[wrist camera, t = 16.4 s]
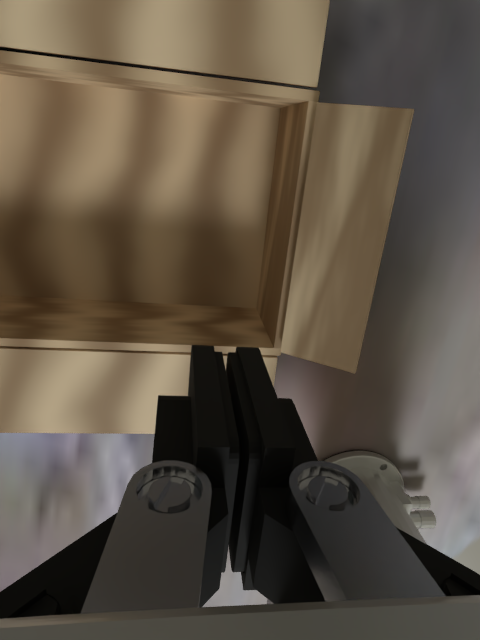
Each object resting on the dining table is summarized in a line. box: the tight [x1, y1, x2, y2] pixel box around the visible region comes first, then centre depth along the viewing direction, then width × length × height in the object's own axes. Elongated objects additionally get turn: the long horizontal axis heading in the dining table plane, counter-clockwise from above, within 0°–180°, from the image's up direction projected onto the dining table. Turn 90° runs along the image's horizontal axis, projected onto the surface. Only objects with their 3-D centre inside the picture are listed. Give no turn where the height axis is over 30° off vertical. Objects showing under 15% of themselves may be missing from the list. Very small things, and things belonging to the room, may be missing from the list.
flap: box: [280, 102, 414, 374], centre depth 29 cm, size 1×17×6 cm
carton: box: [0, 0, 330, 434], centre depth 33 cm, size 24×32×9 cm
